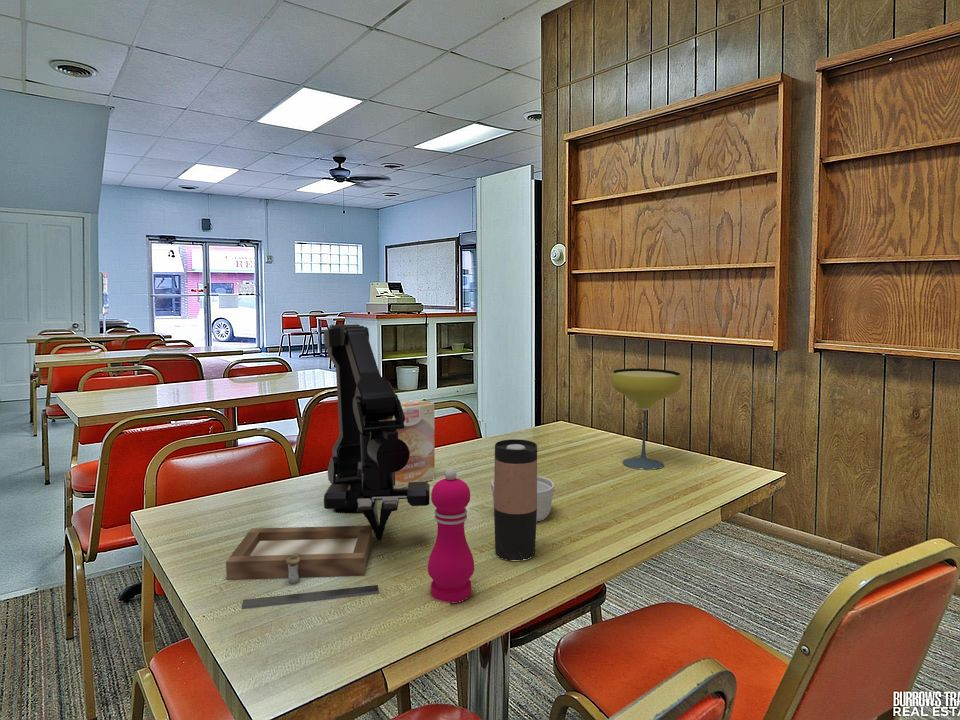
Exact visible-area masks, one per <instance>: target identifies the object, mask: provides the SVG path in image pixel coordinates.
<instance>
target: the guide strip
mask: <svg viewBox="0 0 960 720" xmlns="http://www.w3.org/2000/svg"><path fill="white" fill-rule="evenodd" d="M379 594H380V589H379V585H378V584H375V585H374V584H373V585H363V586H356V587H346V588H337V589H329V590H320V591H319V590H317V591H311V592H301V593H292V594H282V595H274V596H264V597H256V598H247V599H243V600H242V603H241V605H240V606H241V607H240V609H241V610H246V609H255V608H263V607H270V606H272V607H274V606H282V605H291V604H299V603H300V604H301V603H308V602H310V603H311V602H317V601H326V600H334V599H344V598H352V597H360V596H361V597H362V596H368V595H379Z"/></svg>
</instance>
